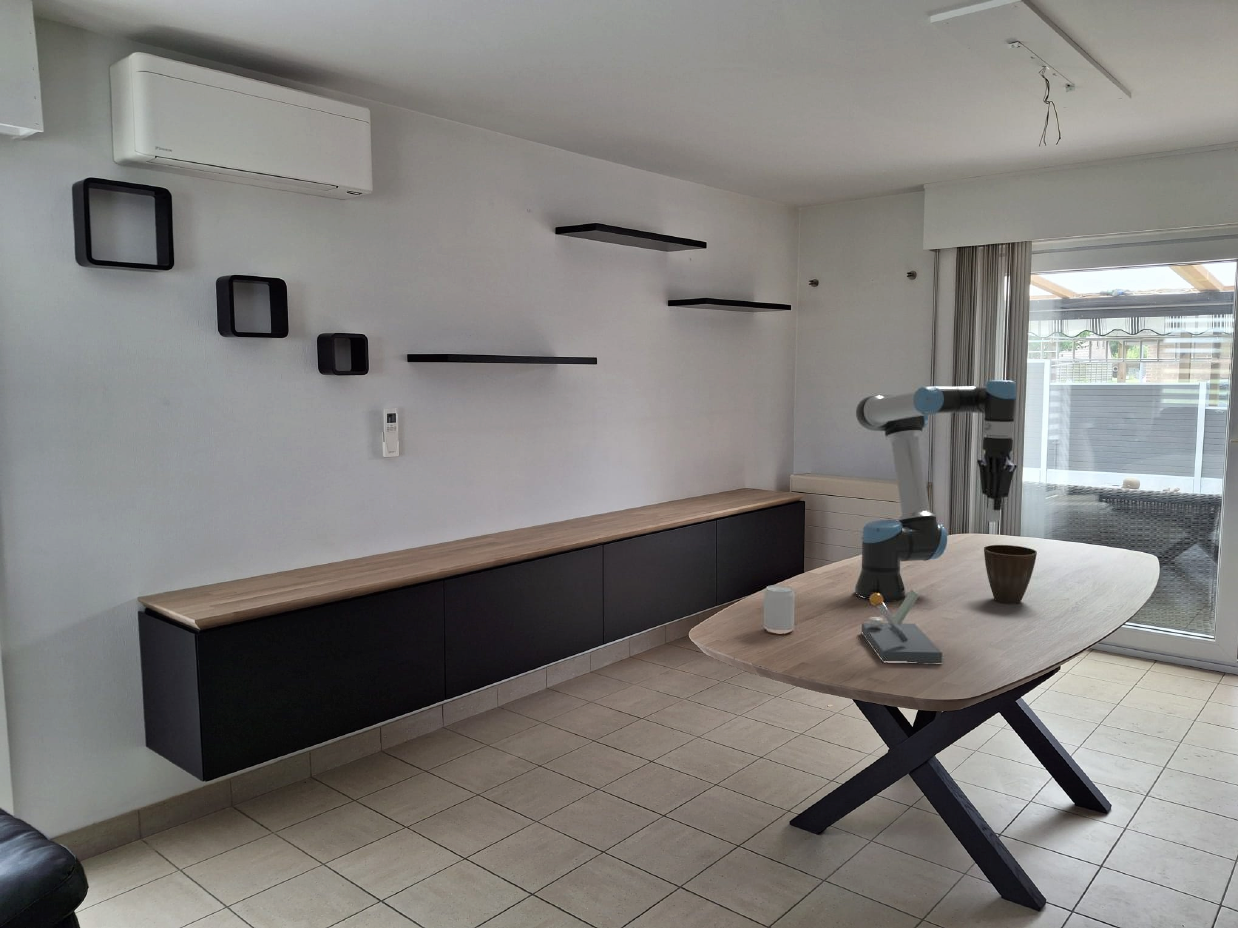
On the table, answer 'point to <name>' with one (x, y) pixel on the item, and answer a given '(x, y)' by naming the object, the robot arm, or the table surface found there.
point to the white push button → (875, 622)
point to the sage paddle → (906, 606)
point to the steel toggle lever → (888, 615)
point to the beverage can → (779, 607)
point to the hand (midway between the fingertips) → (993, 521)
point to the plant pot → (1009, 571)
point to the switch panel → (902, 644)
